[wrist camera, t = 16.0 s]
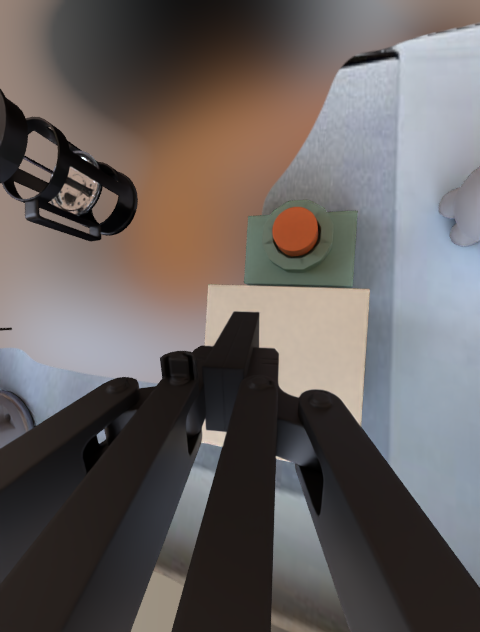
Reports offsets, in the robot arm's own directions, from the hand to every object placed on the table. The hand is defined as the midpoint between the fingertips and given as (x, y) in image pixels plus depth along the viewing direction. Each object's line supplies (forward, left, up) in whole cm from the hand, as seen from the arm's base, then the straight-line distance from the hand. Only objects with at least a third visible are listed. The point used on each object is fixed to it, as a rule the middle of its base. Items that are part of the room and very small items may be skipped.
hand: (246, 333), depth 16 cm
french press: (-27, +16, -18) cm, 36 cm away
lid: (+1, -3, -7) cm, 7 cm away
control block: (+1, +9, -18) cm, 20 cm away
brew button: (+1, +10, -14) cm, 17 cm away
